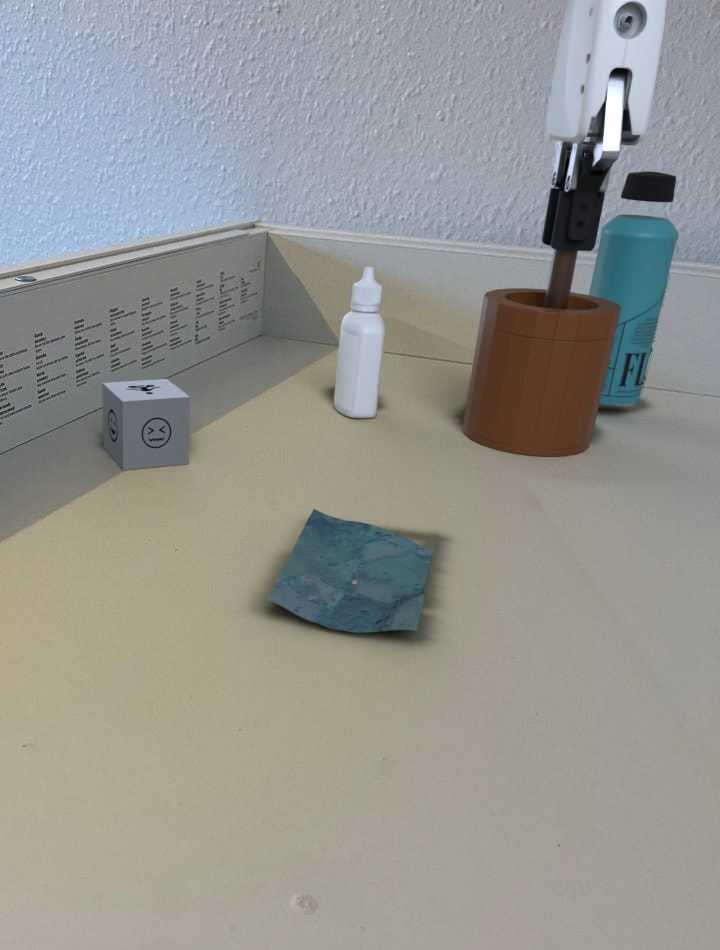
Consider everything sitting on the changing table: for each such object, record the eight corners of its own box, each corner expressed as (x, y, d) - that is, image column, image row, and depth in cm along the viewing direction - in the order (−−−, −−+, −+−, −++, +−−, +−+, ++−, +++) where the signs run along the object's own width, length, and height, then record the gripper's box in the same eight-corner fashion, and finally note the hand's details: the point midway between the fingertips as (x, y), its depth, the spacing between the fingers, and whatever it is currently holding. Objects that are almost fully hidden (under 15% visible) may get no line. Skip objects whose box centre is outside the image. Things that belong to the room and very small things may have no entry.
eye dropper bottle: (322, 415, 85) (335, 269, 80) (337, 399, 90) (351, 260, 84) (372, 422, 84) (389, 274, 78) (384, 406, 89) (401, 265, 83)
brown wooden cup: (569, 421, 88) (597, 292, 82) (606, 459, 78) (640, 317, 73) (453, 415, 87) (473, 285, 82) (475, 453, 78) (500, 309, 73)
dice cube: (165, 443, 77) (166, 379, 74) (188, 464, 73) (190, 396, 70) (103, 448, 75) (102, 382, 73) (123, 470, 71) (122, 401, 69)
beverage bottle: (613, 426, 87) (672, 176, 77) (548, 407, 91) (596, 168, 81) (650, 414, 91) (711, 175, 81) (586, 397, 95) (637, 168, 85)
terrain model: (310, 533, 62) (314, 506, 61) (434, 557, 60) (439, 529, 60) (262, 627, 51) (265, 595, 50) (411, 658, 50) (418, 625, 49)
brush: (559, 366, 82) (597, 166, 74) (572, 377, 79) (612, 169, 71) (516, 364, 82) (550, 164, 74) (526, 375, 79) (563, 167, 71)
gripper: (723, -57, 60) (652, 265, 69) (635, -29, 74) (585, 236, 83) (600, -61, 60) (544, 261, 69) (535, -32, 74) (496, 233, 83)
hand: (567, 245), depth 76 cm, fingers closed on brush
